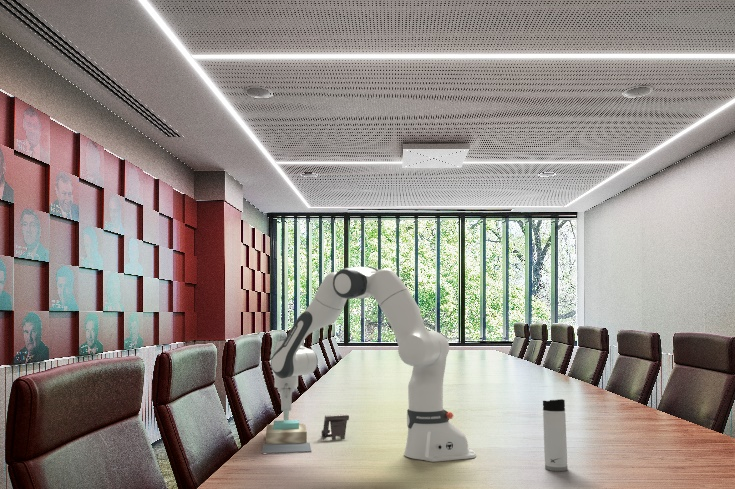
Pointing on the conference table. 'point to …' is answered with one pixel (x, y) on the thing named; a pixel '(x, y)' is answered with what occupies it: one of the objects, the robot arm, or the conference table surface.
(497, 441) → the conference table surface
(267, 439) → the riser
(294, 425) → the turquoise rectangular block
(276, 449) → the mat
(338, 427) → the portable electronic device stand
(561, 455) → the travel mug
